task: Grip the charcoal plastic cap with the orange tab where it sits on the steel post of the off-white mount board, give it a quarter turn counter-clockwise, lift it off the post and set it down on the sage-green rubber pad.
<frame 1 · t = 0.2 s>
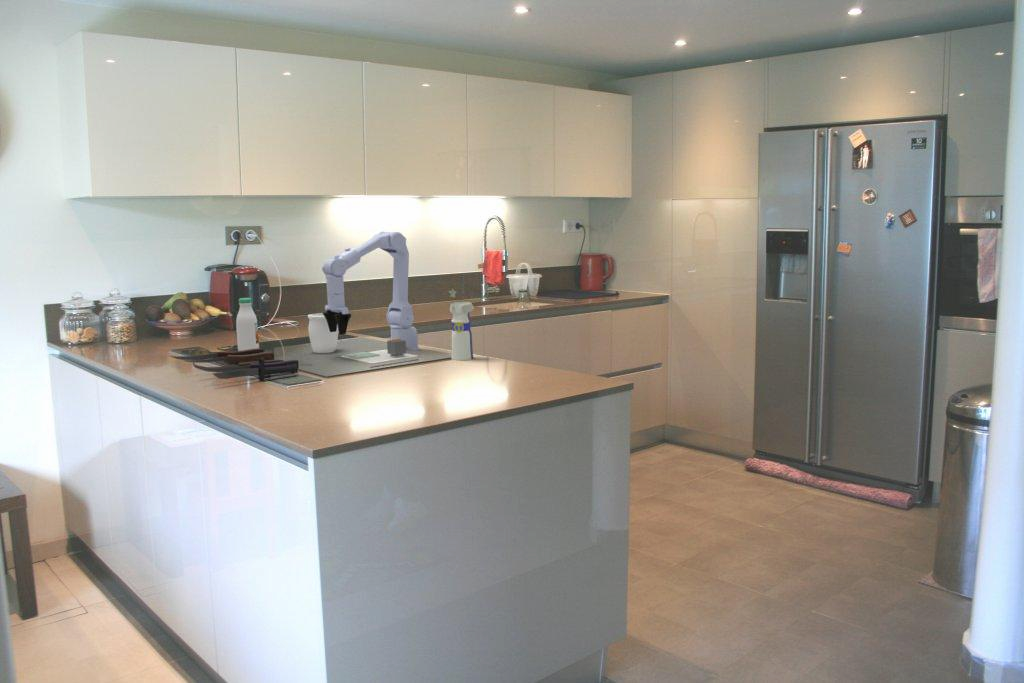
hand: (337, 333, 289), 10 cm above the countertop, fingers open, 7 cm apart
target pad: (361, 355, 292), resting on mount board
white spray bottle: (462, 359, 291), on the countertop
knife set: (238, 374, 271), on the countertop
jar: (324, 355, 303), on the countertop
milk bottle: (248, 351, 316), on the countertop
cap: (396, 353, 289), point 2 cm above the countertop, touching mount board
mount board: (379, 360, 291), on the countertop
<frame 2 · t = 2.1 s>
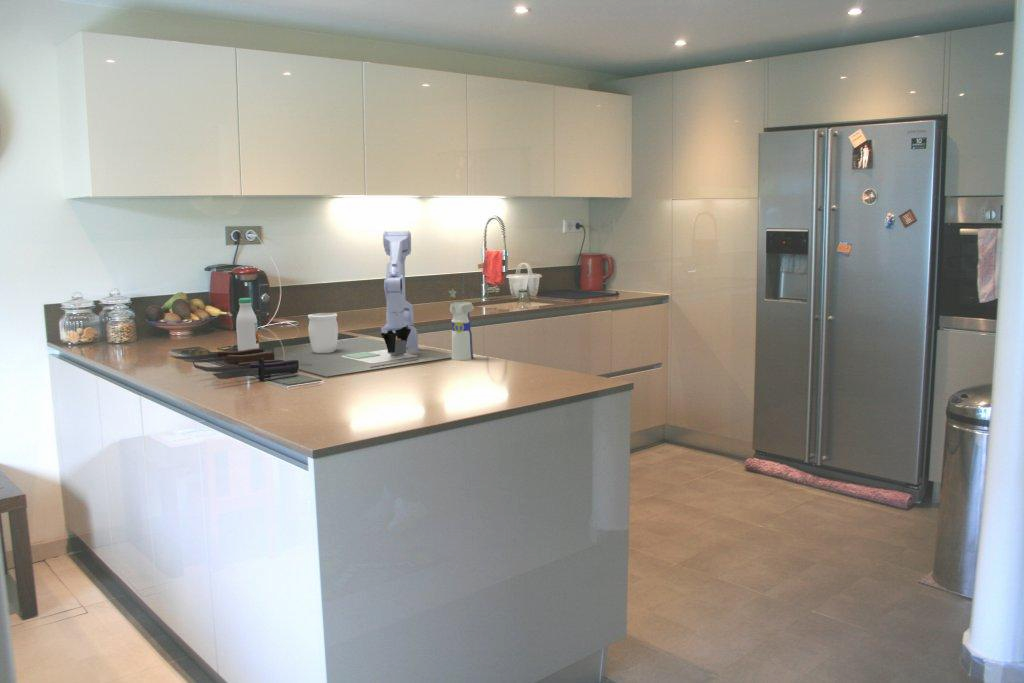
hand: (396, 350, 289), 3 cm above the countertop, fingers closed on cap, 6 cm apart
cap: (396, 353, 289), point 2 cm above the countertop, touching gripper, mount board
everything else where it was.
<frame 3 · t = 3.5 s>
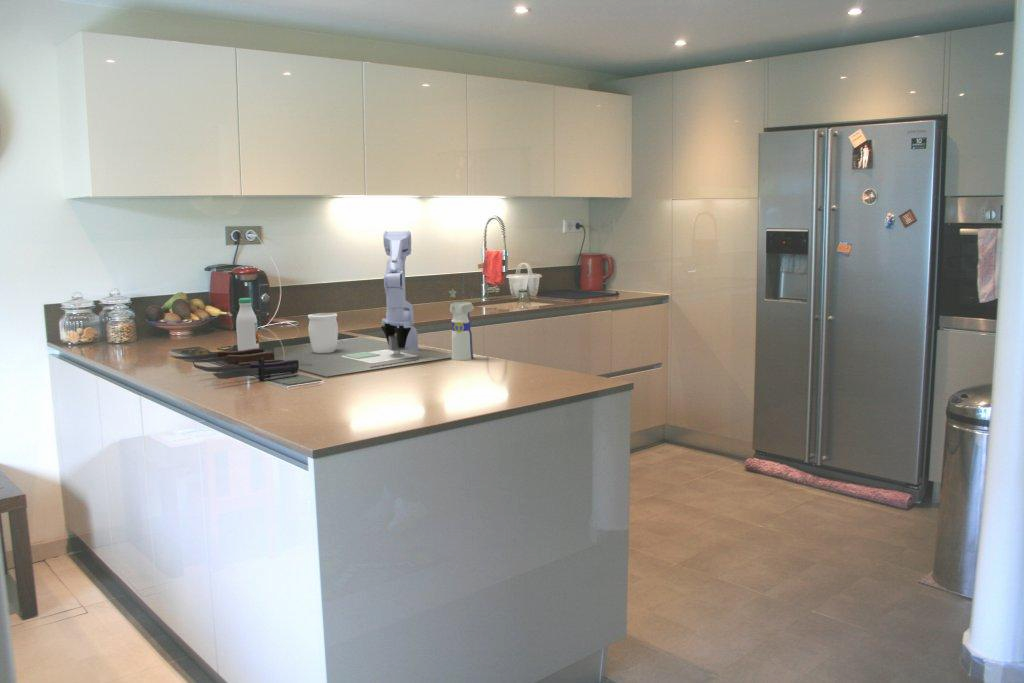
hand: (396, 346, 289), 5 cm above the countertop, fingers closed on cap, 6 cm apart
cap: (396, 349, 289), point 4 cm above the countertop, touching gripper
everything else where it was.
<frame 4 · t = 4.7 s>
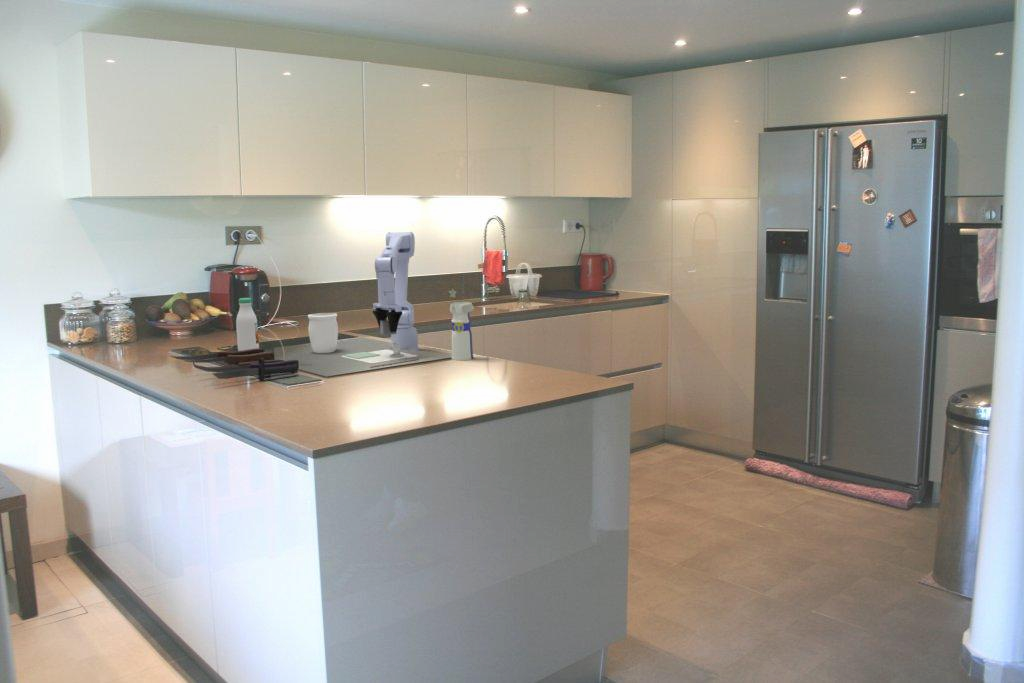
hand: (388, 330, 288), 10 cm above the countertop, fingers closed on cap, 6 cm apart
cap: (388, 333, 289), point 9 cm above the countertop, touching gripper
everything else where it was.
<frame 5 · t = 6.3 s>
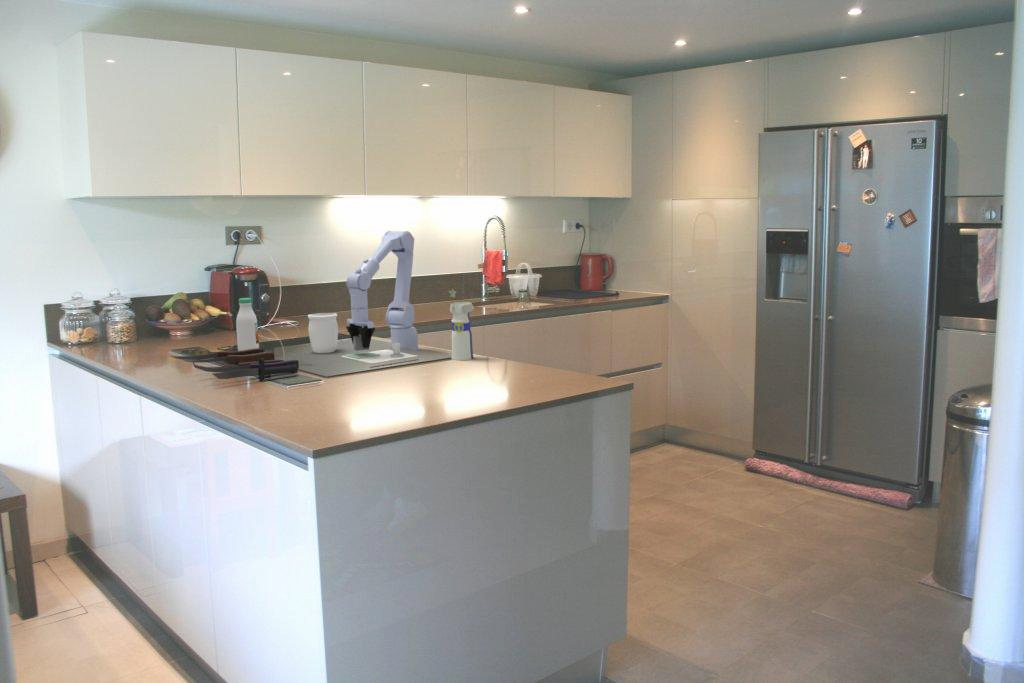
hand: (361, 346, 291), 5 cm above the countertop, fingers closed on cap, 6 cm apart
cap: (361, 349, 291), point 4 cm above the countertop, touching gripper
everything else where it was.
when the fingers open (4 cm above the countertop, at t = 7.5 s): cap drops 1 cm, resting on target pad.
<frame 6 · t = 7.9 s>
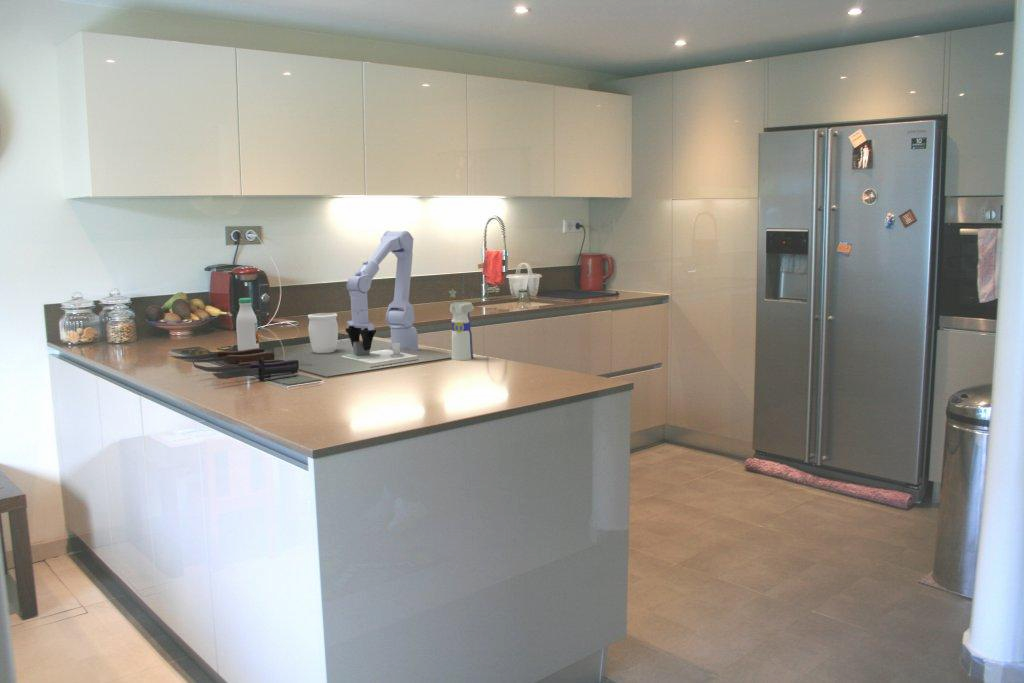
hand: (361, 348, 291), 4 cm above the countertop, fingers open, 7 cm apart
cap: (361, 354, 292), point 2 cm above the countertop, touching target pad
everything else where it was.
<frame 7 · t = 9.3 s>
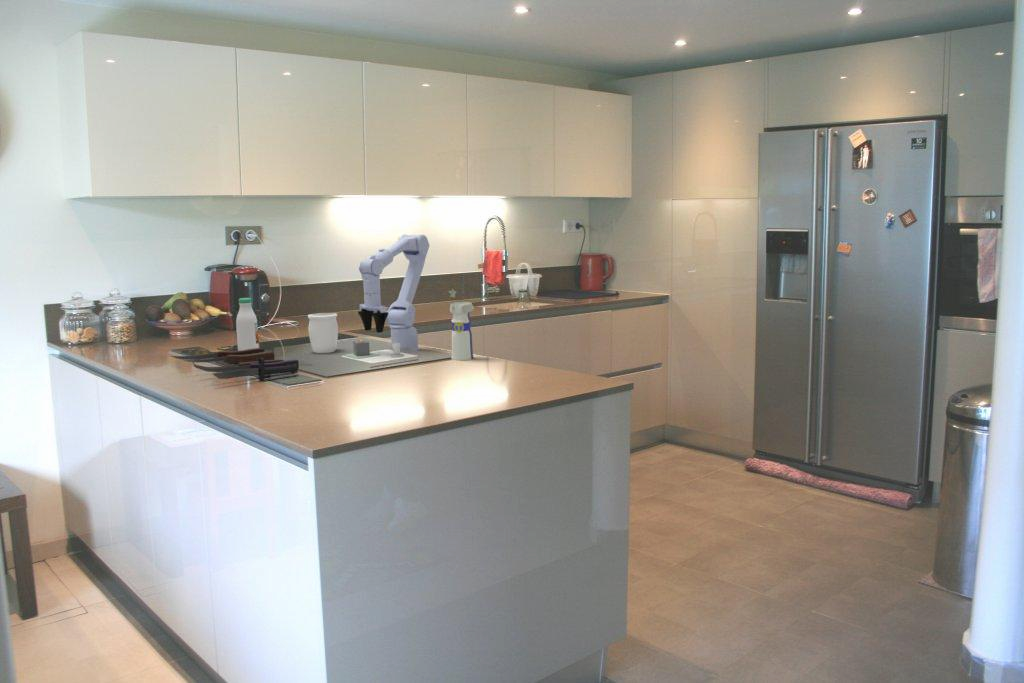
hand: (373, 331, 295), 9 cm above the countertop, fingers open, 7 cm apart
nothing on the countertop moved.
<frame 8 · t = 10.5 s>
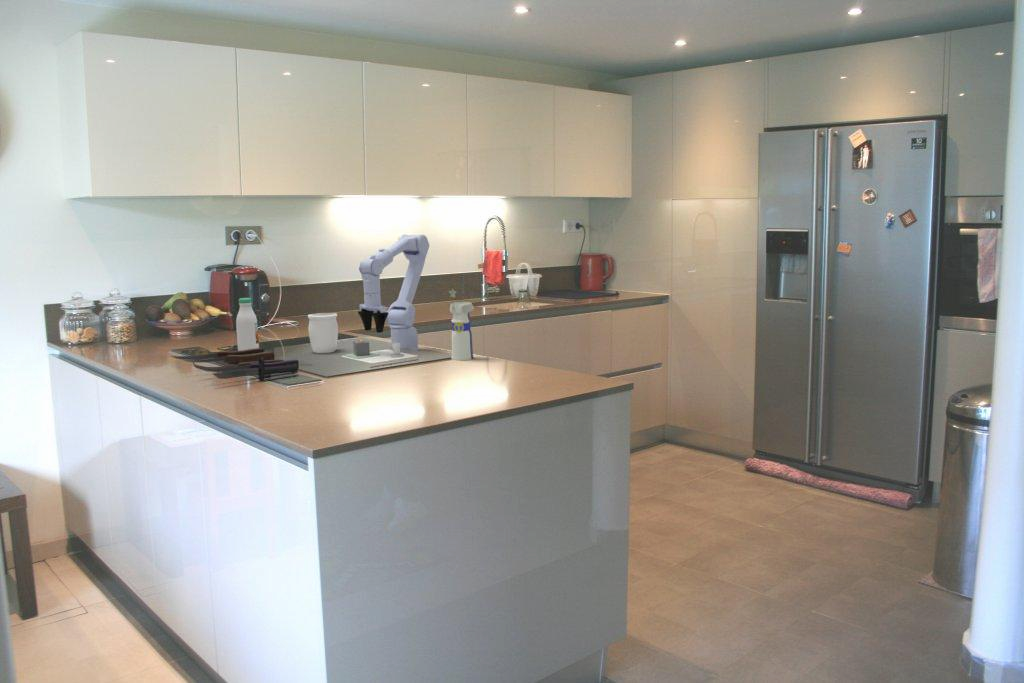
hand: (373, 331, 295), 9 cm above the countertop, fingers open, 7 cm apart
nothing on the countertop moved.
at the end: cap 0.1 cm off-centre on the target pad, point 0.4 cm above the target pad's base; cap tilted 0°; the gripper is holding nothing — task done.
